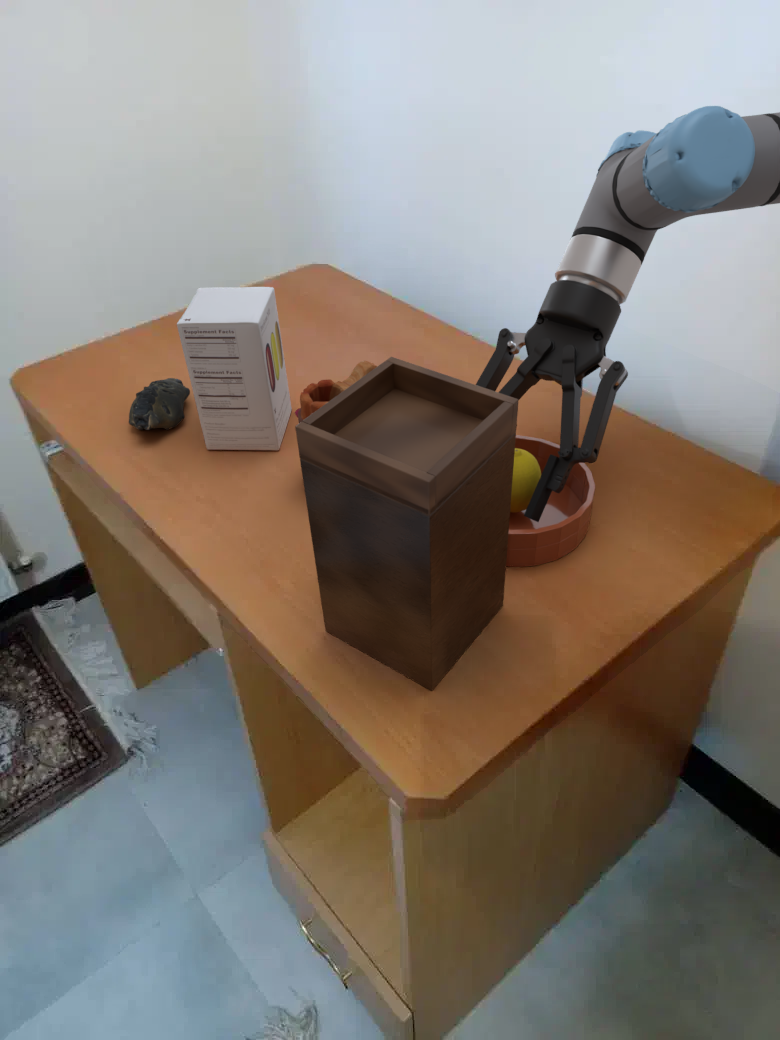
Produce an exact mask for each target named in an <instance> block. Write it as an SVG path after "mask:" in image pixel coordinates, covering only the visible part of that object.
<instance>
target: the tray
mask: <svg viewBox="0 0 780 1040" xmlns="http://www.w3.org/2000/svg"><path fill="white" fill-rule="evenodd" d="M376 366H377V367H376V368H375V369H373V370H372V371H371V372H369V373H368V374H366V375H365V376H364V377H362V378H361V379H359V380H358V381H357V382H355V383H354V384H353V385H351V386H350V387H348V388H347V389H346V390H344V391H343V392H341V393H340V394H339V395H337V396H336V397H335V398H333V399H332V400H330V401H329V402H328V403H326V404H325V405H324V406H322V407H321V408H319V409H318V410H317V411H315V412H314V413H312V414H311V415H310V416H308V417H307V418H306V419H304V420H303V421H302V422H300V423H299V422H298V423H297V424H296V425H295V426H294V429H295V436H296V442H297V448H298V455H299V460H300V459H302V460H304V461H307V462H309V463H311V464H314V465H316V466H318V467H320V468H323V469H325V470H327V471H329V472H332V473H334V474H336V475H338V476H341V477H343V478H345V479H348V480H350V481H352V482H354V483H357V484H359V485H361V486H363V487H366V488H368V489H370V490H372V491H375V492H377V493H379V494H381V495H384V496H386V497H388V498H391V499H393V500H395V501H397V502H400V503H402V504H404V505H406V506H409V507H411V508H413V509H415V510H418V511H420V512H422V513H425V514H427V515H431V514H432V513H433V512H434V511H435V510H436V509H437V508H438V507H439V506H440V505H441V504H442V503H443V502H444V501H445V500H446V499H447V498H448V497H449V496H450V495H451V494H452V493H453V492H454V491H455V490H456V489H457V488H458V487H460V486H461V485H462V484H463V483H464V482H465V481H466V480H467V479H468V478H469V477H470V476H471V475H472V474H473V473H474V472H475V471H476V470H477V469H478V468H479V467H480V466H481V465H482V464H483V463H484V462H485V461H486V460H487V459H488V458H489V457H491V456H492V455H493V454H494V453H495V452H496V451H497V450H498V449H499V448H500V447H501V446H502V445H503V444H504V443H505V442H506V441H507V440H508V439H509V438H510V437H511V436H512V435H513V434H514V433H515V432H516V433H517V427H518V413H519V401H520V399H519V400H518V399H516V398H513V397H510V396H507V395H504V394H501V393H498V392H499V391H492V390H489V389H486V388H483V387H480V386H477V385H476V384H474V383H471V382H468V381H465V380H462V379H459V378H457V377H453V376H450V375H448V374H444V373H442V372H438V371H435V370H432V369H429V368H427V367H424V366H421V365H417V364H415V363H412V362H409V361H406V360H404V359H400V358H396V357H394V356H390V357H388V358H387V359H386V360H384V361H383V362H381V363H380V364H378V365H376Z"/></svg>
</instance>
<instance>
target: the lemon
mask: <svg viewBox="0 0 780 1040" xmlns="http://www.w3.org/2000/svg"><path fill="white" fill-rule="evenodd" d="M540 477H541V470H540V467H539V464H538V462H537V460H536V458H535V457H534V456H533V455H532V454H530V453H529V452H527V451H525V450H523V449H518V448H515V453H514V467H513V480H512V493H511V507H510V512H521V511H523V510H526V509H527V507H528V505H529V502H530V500H531V498H532V495H533V493H534V491H535V488H536V486H537V484H538V482H539V479H540Z"/></svg>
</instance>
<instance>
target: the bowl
mask: <svg viewBox="0 0 780 1040" xmlns="http://www.w3.org/2000/svg"><path fill="white" fill-rule="evenodd" d="M515 448H518V449H523V450H525V451H527V452H529V453H530V454H532V455H533V456H534V457H535V458H536V460H537V462H538V464H539V467H540V470H541V475H542V472H543V470H544V468H545V465H546V463H547V461H548V458H549V456H550V454H551V455H554V456H556V457H558V458H559V454H558V451H559V452H560V444H557V443H555V442H552V441H549V440H546V439H543V438H540V437H534V436H526V435H520V434H516V440H515ZM595 493H596V483H595V480H594V477H593V473H592V471H591V469H590V468H589V466H587V464H586V463H577V464H575V465H574V466H573V467H572V470H571V472H570V474H569V476H568V479H567V481H566V483H565V486H564V488H563V490H562V491H561V492H560V493H556V492H554V491H552V492H551V495H550V497H549V499H548V501H547V504H546V506H545V508H544V511H543V513H542V515H541V518H540V520H539V522H537V521H534V520H532V519H530V518H528V517H526V516H524V514H525V512H526V510H523V511H521V512H510V520H509V533H508V547H507V560H506V567H511V568H513V567H519V568H520V567H521V568H523V567H533V566H534V567H535V566H539V565H544V564H548V563H550V562H554V561H556V560H559V559H562V558H563V557H565V556H567V555H568V554H571V552H572V551H574V550H575V549H576V548H577V547H578V546H579V545H580V544H581V543H582V542H583V540H584V539H585V537H586V535H587V533H588V531H589V526H590V521H591V517H592V511H593V506H594V498H595Z"/></svg>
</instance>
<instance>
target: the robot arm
mask: <svg viewBox="0 0 780 1040" xmlns="http://www.w3.org/2000/svg"><path fill="white" fill-rule="evenodd" d="M777 204H780V111H779V112H773V113H772V112H771V113H761V114H752V115H745V116H741V115H739V114H738V113H736V112H733V111H731V110H730V109H728V108H725V107H723V106H721V105H705V106H702V107H699V108H696V109H694V110H691V111H690V112H687V113H686V114H683V115H681V116H678V117H676V118H675V119H674V120H672V122H668V123H666V125H665V126H664V127H663V128H662V129H660V130H659V131H658V132H654V131H649V130H643V129H641V130H636V131H635V132H633V131H625V132H623V133H622V134H620V135H619V136H617V137H616V138H615V139H614V141H613V142H612V143H611V146H610V147H609V150H608V152H607V154H606V155H605V158H604V159H603V160H602V161H601V163H600V164H599V166H598V168H597V173H596V177H595V180H594V182H593V185H592V187H591V190H590V192H589V194H588V197H587V199H586V201H585V203H584V206H583V208H582V211H581V213H580V215H579V218H578V220H577V223H576V224H575V227H574V230H573V232H572V235H571V238H570V239H569V242H568V243H567V246H566V248H565V251H564V252H563V254H562V257H561V259H560V262H559V264H558V266H557V268H556V270H555V273H554V278H555V280H556V281H554V282H552V283H550V285H549V288H548V289H547V292H546V295H545V297H544V299H543V301H542V305H541V306H540V308H539V311H538V314H537V317H536V319H535V322H534V324H533V325H532V326H531V327H530V328H529V329H527V331H526V332H512V331H511V330H510V329H509V328H507V327H504V328H502V329H500V331H499V332H498V336H497V341H496V345H495V349H494V351H493V353H492V354H491V356H490V359H489V360H488V362H487V364H486V366H485V367H484V369H483V370H482V372H481V374H480V376H479V378H478V379H477V381H476V383H475V385H477V386H480V387H483V388H486V389H489V390H492V391H495V392H498V393H501V394H504V395H507V396H510V397H513V398H516V399H518V400H519V401H520V400H521V399H522V397H523V396H524V395H525V394H526V393H527V392H528V391H529V390H530V389H531V388H532V387H533V386H535V385H537V384H538V383H539V382H540V380H543V381H549V382H555V383H556V384H558V385H559V386H561V391H562V396H561V416H560V435H559V436H560V438H559V445H560V452H559V451H558V454H559V458H558V457H556V456H554V455H551V454H550V456H549V458H548V461H547V463H546V465H545V468H544V470H543V472H542V475H541V477H540V479H539V482H538V484H537V486H536V488H535V491H534V493H533V495H532V498H531V500H530V502H529V505H528V507H527V509H526V512H525V514H524V516H526V517H528V518H530V519H532V520H534V521H537V522H539V520H540V518H541V515H542V513H543V511H544V508H545V506H546V504H547V501H548V499H549V497H550V495H551V492H552V491H554V492H556V493H560V492H561V491H562V490H563V488H564V486H565V483H566V481H567V479H568V476H569V474H570V472H571V470H572V467H573V466H574V465H575V464H577V463H585V464H590V465H592V464H595V463H596V462H597V460H598V457H599V454H600V450H601V448H602V443H603V440H604V437H605V434H606V430H607V426H608V423H609V420H610V417H611V413H612V409H613V407H614V403H615V400H616V395H617V393H618V391H619V390H620V388H621V387H622V386H623V384H624V382H625V381H626V380H627V378H628V376H629V371H628V370H627V368H626V367H625V365H624V364H623V362H622V361H619V360H612V359H611V358H610V357H607V353H606V351H607V345H608V343H609V341H610V339H611V336H612V334H613V332H614V330H615V327H616V325H617V323H618V320H619V318H620V316H621V313H622V308H621V305H622V304H624V303H626V301H627V299H628V296H629V294H630V292H631V290H632V287H633V285H634V283H635V281H636V279H637V276H638V274H639V272H640V270H641V267H642V265H643V263H644V261H645V258H646V255H647V253H648V251H649V248H650V247H651V244H652V242H653V240H654V238H655V236H656V234H657V232H658V230H662V229H664V228H666V227H668V226H670V225H672V224H674V223H675V224H676V223H677V222H679V221H681V220H683V219H687V218H690V217H695V216H700V215H708V214H716V213H723V212H728V211H737V210H744V209H752V208H757V207H764V206H765V207H766V206H769V205H777ZM524 346H525V349H526V354H527V355H526V358H525V359H524V360H523V361H522V362H521V363H520V364H519V365H518V367H517V369H516V372H514V374H513V376H512V377H511V378H510V379H508V381H507V382H506V383H505V384H504V385H503V386H502V388H500V390H499V391H497V389H498V387H500V384H501V382H502V381H503V378H504V377H505V375H506V374H507V372H508V370H509V368H510V367H511V364H512V363H513V360H514V358H515V355H518V354H520V352H521V349H522V348H523V347H524ZM599 368H600V371H599V372H598V373H599V374H598V376H599V379H600V382H599V384H598V386H597V390H596V392H595V397H594V400H593V403H592V407H591V410H590V414H589V417H588V420H587V424H586V427H585V430H584V435H583V437H582V441H581V444H580V447H579V442H580V422H581V421H580V419H581V400H582V399H581V398H582V396H583V384H584V383H583V381H584V380H583V379H585V378H586V377H588V376H589V375H590V374H592V373H594V372H595V371H596V370H598V369H599Z"/></svg>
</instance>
